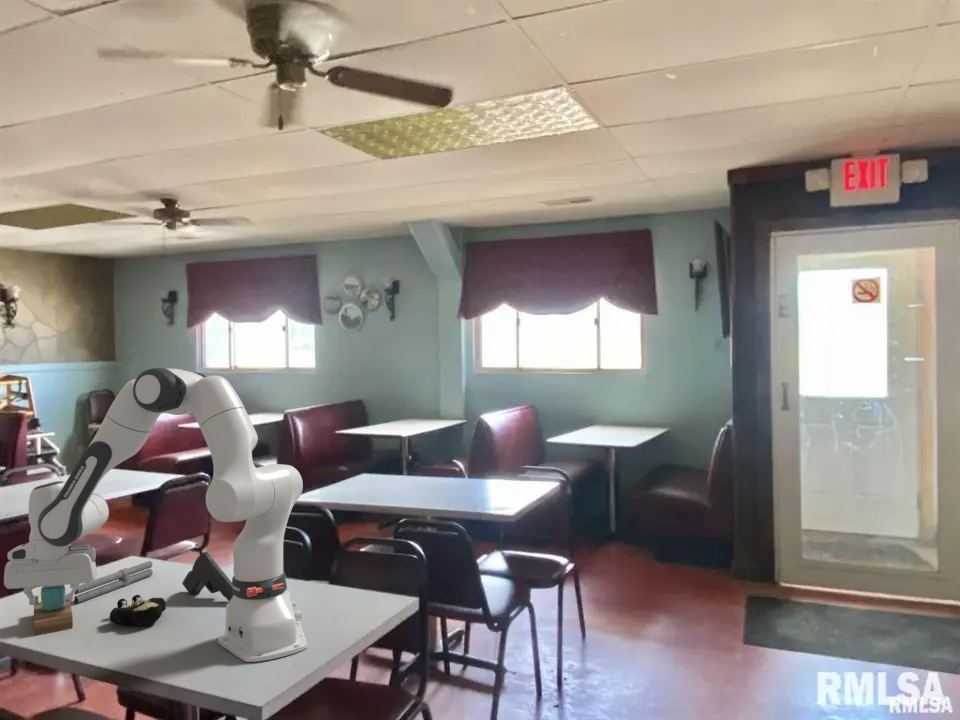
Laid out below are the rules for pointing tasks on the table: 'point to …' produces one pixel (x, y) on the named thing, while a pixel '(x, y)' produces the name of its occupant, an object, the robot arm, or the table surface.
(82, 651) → the table surface
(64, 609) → the stud block
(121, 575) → the metal rod assembly
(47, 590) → the cap
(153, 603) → the toy
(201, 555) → the pistol
